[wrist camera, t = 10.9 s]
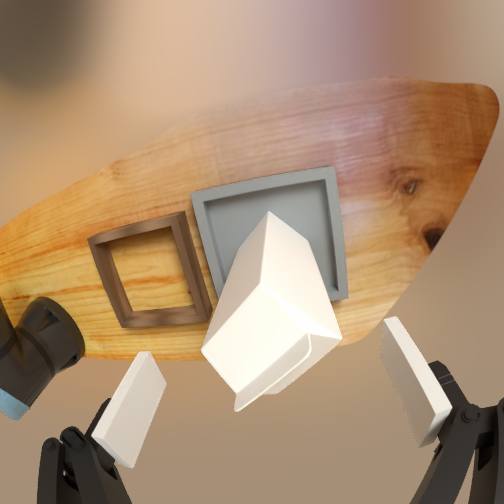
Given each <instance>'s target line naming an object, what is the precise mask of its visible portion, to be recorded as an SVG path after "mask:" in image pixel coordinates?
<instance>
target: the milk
mask: <svg viewBox="0 0 504 504" xmlns="http://www.w3.org/2000/svg"><path fill="white" fill-rule="evenodd" d="M341 340H342V336H341V333H340V330H339V327H338V324H337V321H336V318H335V315H334V312H333V309H332V306H331V303H330V300H329V297H328V294H327V291H326V288H325V286H324V283H323V280H322V277H321V274H320V272H319V269H318V266H317V263H316V261H315V258H314V255H313V253H312V250H311V247H310V245H309V242H308V240H306V239H305V238H304V237H303V236H301V235H300V234H299V233H297V232H296V231H295V230H294V229H292V228H291V227H290V226H288V225H287V224H286V223H285V222H283V221H282V220H281V219H279V218H278V217H277V216H275V215H274V214H273V213H271V212H270V211H268V212H267V213H266V214H265V215H264V217H263V218H262V219H261V221H260V222H259V223H258V224H257V226H256V227H255V228H254V230H253V231H252V232H251V233H250V235H249V236H248V237H247V238H246V240H245V241H244V242H243V244H242V245H241V246H240V247H239V249H238V251H237V254H236V257H235V259H234V262H233V265H232V267H231V270H230V272H229V275H228V278H227V280H226V283H225V286H224V288H223V291H222V294H221V296H220V299H219V302H218V304H217V307H216V310H215V312H214V315H213V318H212V320H211V323H210V326H209V328H208V331H207V334H206V337H205V339H204V342H203V345H202V347H201V352H202V354H203V355H204V356H205V358H206V359H207V360H208V361H209V363H210V364H211V365H212V366H213V367H214V369H216V371H217V372H218V373H219V375H220V376H221V377H222V378H223V379H224V380H225V382H226V383H227V384H228V385H229V386H230V387H231V389H232V390H233V391H234V392H235V393H236V399H235V405H234V411H236V412H238V411H240V410H241V409H242V408H244V407H245V406H247V405H248V404H250V403H251V402H252V401H254V400H255V399H256V398H258V397H259V396H260V395H262V394H277V393H279V392H280V391H281V390H283V389H284V388H285V387H287V386H288V385H289V384H291V383H292V382H293V381H294V380H296V379H297V378H298V377H299V376H300V375H302V374H303V373H304V372H306V371H307V370H308V369H309V368H310V367H312V366H313V365H314V364H315V363H316V362H318V361H319V360H320V359H321V358H322V357H323V356H324V355H326V354H327V353H328V352H329V351H330V350H331V349H333V348H334V347H335V346H336V345H337V344H338V343H339V342H340V341H341Z"/></svg>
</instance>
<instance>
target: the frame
mask: <svg viewBox="0 0 504 504" xmlns="http://www.w3.org/2000/svg"><path fill="white" fill-rule="evenodd" d="M168 226H171V228H172V231H173V235H174V238H175V242H176V245H177V249H178V252H179V256H180V259H181V262H182V266H183V269H184V272H185V275H186V278H187V282H188V285H189V288H190V291H191V294H192V297H193V300H194V303H195V305H192V306H183V307H174V308H165V309H155V310H144V311H132V308H131V306H130V303H129V301H128V298H127V296H126V293H125V291H124V288H123V286H122V283H121V281H120V278H119V275H118V272H117V270H116V267H115V264H114V261H113V258H112V255H111V252H110V249H109V246H108V243H107V241H110V240H114V239H118V238H122V237H126V236H130V235H134V234H138V233H142V232H147V231H151V230H155V229H159V228H164V227H168ZM87 240H88V243H89V246H90V249H91V252H92V255H93V258H94V261H95V264H96V267H97V269H98V272H99V275H100V277H101V280H102V283H103V285H104V288H105V290H106V293H107V295H108V297H109V300H110V302H111V305H112V307H113V309H114V311H115V314H116V316H117V318H118V320H119V323H120V325H121V327H122V328H126V327H145V326H160V325H173V324H185V323H196V322H206V321H208V320H209V318H210V315H211V313H212V310H213V309H212V305H211V302H210V299H209V296H208V292H207V289H206V286H205V282H204V279H203V276H202V272H201V269H200V265H199V262H198V258H197V255H196V251H195V247H194V244H193V240H192V236H191V233H190V229H189V225H188V221H187V217H186V214H185V211H180V212H176V213H172V214H168V215H164V216H160V217H156V218H152V219H148V220H144V221H140V222H136V223H132V224H128V225H125V226H121V227H117V228H114V229H110V230H107V231H103V232H100V233H97V234H95V235H93V236H92V237H90V238H88V239H87Z"/></svg>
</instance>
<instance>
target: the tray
mask: <svg viewBox="0 0 504 504" xmlns="http://www.w3.org/2000/svg"><path fill="white" fill-rule="evenodd" d="M190 195H191V199H192V204H193V208H194V212H195V216H196V220H197V223H198V227H199V231H200V235H201V239H202V243H203V246H204V250H205V254H206V257H207V261H208V265H209V268H210V272H211V276H212V279H213V283H214V286H215V290H216V293H217V296H218V300H219V299H220V296H221V294H222V291H223V288H224V286H225V283H226V280H227V278H228V275H229V272H230V270H231V267H232V265H233V262H234V259H235V257H236V254H237V251H238V249H239V247H240V246H241V245H242V244H243V242H244V241H245V240H246V238H247V237H248V236H249V235H250V233H251V232H252V231H253V230H254V228H255V227H256V226H257V224H258V223H259V222H260V221H261V219H262V218H263V217H264V215H265V214H266V213H267V212H268V211H270V212H271V213H273V214H274V215H275V216H277V217H278V218H279V219H281V220H282V221H283V222H285V223H286V224H287V225H288V226H290V227H291V228H292V229H294V230H295V231H296V232H297V233H299V234H300V235H301V236H303V237H304V238H305V239H306V240H308V242H309V245H310V247H311V250H312V253H313V255H314V258H315V261H316V263H317V266H318V269H319V272H320V274H321V277H322V280H323V283H324V286H325V288H326V291H327V294H328V297H329V300H330V301H336V300H341V299H346V298H348V282H347V268H346V256H345V245H344V235H343V226H342V218H341V210H340V202H339V195H338V188H337V182H336V175H335V169H334V166H324V167H317V168H311V169H305V170H298V171H292V172H286V173H281V174H275V175H270V176H264V177H259V178H254V179H249V180H244V181H239V182H234V183H230V184H225V185H220V186H216V187H212V188H207V189H203V190H199V191H195V192H193V193H191V194H190Z"/></svg>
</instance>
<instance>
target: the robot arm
mask: <svg viewBox="0 0 504 504" xmlns="http://www.w3.org/2000/svg"><path fill="white" fill-rule="evenodd" d="M84 351H85V346H84V341H83V338H82V335H81V333H80V331H79V329H78V327H77V325H76V324H75V322H74V321H73V319H72V318H71V317H70V315H69V314H68V313H67V312H66V311H65V310H64V309H63V308H62V307H61V306H60V305H59V304H58V303H56V302H55V301H53V300H51V299H49V298H47V297H38V298H36V299H35V300H34V301H32V302H31V303H30V304H29V305H28V307H27V309H26V310H25V312H24V314H23V316H22V317H21V319H20V321H19V323H18V325H17V326H16V327H15V328H13V326H12V323H11V321H10V319H9V317H8V315H7V312H6V310H5V308H4V305H3V303H2V300H1V298H0V412H1V413H3V414H4V415H5V416H7V417H8V418H10V419H13V420H19V419H20V418H21V417H22V416H23V415H24V414H25V413H26V412H27V411H28V410H29V409H30V407H31V406H32V404H33V403H34V401H35V400H36V399H37V398H38V396H39V395H40V394H41V392H42V391H43V390H44V389H45V387H46V386H47V385H48V384H49V382H50V381H51V380H52V378H53V377H54V376H55V375H56V374H57V373H59V372H61V371H63V370H65V369H67V368H69V367H71V366H73V365H75V364H76V363H77V362H78V361H79V360H80V358H81V357H82V356H83V354H84ZM381 359H382V361H383V363H384V365H385V368H386V370H387V372H388V374H389V377H390V379H391V381H392V383H393V386H394V388H395V390H396V392H397V395H398V397H399V399H400V401H401V404H402V407H403V409H404V411H405V414H406V416H407V419H408V421H409V424H410V426H411V429H412V432H413V434H414V437H415V439H416V442H417V445H418V447H419V448H421V447H423V446H426V445H428V444H431V443H433V442H434V441H435V439H436V438H437V436H438V438H439V441H440V443H439V445H438V446H437V448H436V449H435V451H434V452H435V454H434V457H433V459H432V461H431V464H430V466H429V468H428V470H427V472H426V474H425V476H424V478H423V480H422V482H421V484H420V486H419V488H418V490H417V491H416V493H415V495H414V497H413V499H412V501H411V502H410V504H454V502H455V500H456V498H457V496H458V493H459V491H460V489H461V486H462V484H463V481H464V479H465V476H466V473H467V470H468V468H469V465H470V462H471V459H472V456H473V453H474V450H475V460H474V470H473V478H472V485H471V491H470V497H469V502H468V504H504V398H503V399H501V400H500V401H499V403H498V405H496V406H491V407H486V408H479V407H478V406H476V405H474V404H470V403H469V402H468V401H467V399H466V397H465V396H464V394H463V392H462V391H461V389H460V388H459V386H458V384H457V383H456V381H454V378H453V376H452V375H451V374H450V372H449V371H448V369H447V367H446V366H445V365H444V364H442V363H441V362H439V361H435V362H432V363H429V364H427V362H426V361H425V359H424V358H423V356H422V354H421V353H420V351H419V350H418V348H417V347H416V345H415V344H414V342H413V340H412V339H411V337H410V336H409V334H408V333H407V331H406V330H405V328H404V327H403V325H402V324H401V323H400V321H399V319H398V318H397V317H396V316H395V317H391V318H387V319H384V321H383V337H382V349H381ZM165 387H166V381H165V380H164V378H163V376H162V374H161V372H160V370H159V369H158V367H157V365H156V363H155V361H154V359H153V357H152V355H151V353H150V351H142V352H139V353H138V354H137V356H136V358H135V359H134V361H133V363H132V364H131V366H130V368H129V370H128V371H127V373H126V375H125V376H124V378H123V380H122V381H121V383H120V385H119V387H118V388H117V390H116V392H115V394H114V396H113V397H112V398H108V399H107V400H106V401H105V402H104V403H103V404H102V405H101V407H100V409H99V410H98V412H97V414H96V416H95V418H94V419H93V421H92V423H91V424H90V426H89V428H88V430H87V432H86V434H85V435H83V433H82V432H81V431H79V429H78V428H76V427H73V426H71V427H68V428H66V429H64V430H63V431H62V433H61V435H60V440H61V441H62V442H63V443H61V442H59V440H58V439H56V438H49V439H47V440H46V441H45V442H44V444H43V446H42V452H41V460H40V468H39V477H38V491H37V504H132V502H131V500H130V498H129V496H128V494H127V492H126V489H125V487H124V485H123V482H122V480H121V478H120V475H119V473H118V470H117V468H116V466H115V465H114V462H115V460H116V461H117V462H118V463H119V464H120V465H122V466H126V467H130V468H133V467H134V465H135V462H136V460H137V457H138V454H139V452H140V449H141V447H142V444H143V441H144V439H145V436H146V434H147V431H148V429H149V426H150V424H151V421H152V419H153V416H154V414H155V411H156V409H157V406H158V404H159V401H160V399H161V396H162V394H163V392H164V389H165ZM63 471H65V476H64V475H63Z"/></svg>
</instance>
